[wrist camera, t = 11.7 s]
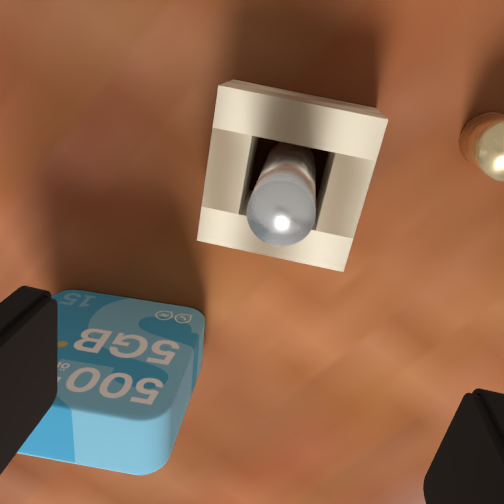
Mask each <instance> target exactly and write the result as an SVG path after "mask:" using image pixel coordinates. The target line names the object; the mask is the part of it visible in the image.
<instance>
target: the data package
mask: <svg viewBox="0 0 504 504" xmlns="http://www.w3.org/2000/svg"><path fill="white" fill-rule="evenodd" d="M52 299H55V300H56V301H57V305H58V358H57V395H56V398H55V400H54V403H53V404H52V406H51V407H50V409H49V410H48V411H47V413H46V414H45V415H44V417H43V418H42V419H41V421H40V422H39V424H38V425H37V426H36V428H35V429H34V430H33V432H32V433H31V434H30V436H29V437H28V438H27V440H26V441H25V442H24V444H23V445H22V446H21V448H20V449H19V450H18V452H17V453H20V454H25V455H31V456H36V457H42V458H47V459H52V460H58V461H63V462H69V463H74V464H79V465H85V466H90V467H96V468H101V469H107V470H112V471H117V472H123V473H128V474H134V475H146V474H150V473H153V472H155V471H157V470H159V469H160V468H161V467H162V466H164V465H165V463H166V462H167V461H168V459H169V457H170V454H171V452H172V449H173V446H174V443H175V440H176V437H177V435H178V432H179V429H180V426H181V423H182V420H183V418H184V415H185V412H186V409H187V406H188V403H189V400H190V398H191V395H192V392H193V389H194V386H195V383H196V381H197V378H198V375H199V372H200V369H201V366H202V356H203V343H204V330H205V318H204V316H203V314H202V313H201V312H199V311H198V310H196V309H193V308H190V307H184V306H178V305H172V304H165V303H159V302H153V301H146V300H140V299H134V298H127V297H121V296H115V295H109V294H102V293H96V292H90V291H83V290H66V291H62V292H59V293H57V294H55V295H53V296H52Z"/></svg>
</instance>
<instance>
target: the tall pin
mask: <svg viewBox="0 0 504 504" xmlns="http://www.w3.org/2000/svg"><path fill="white" fill-rule="evenodd" d="M246 214H247V221H248V224H249V226H250V229H251V230H252V232H253V233H254V234H255V235H256V236H257V237H258V238H259V239H260V240H262V241H263V242H265V243H267V244H270V245H273V246H290V245H293V244H296V243H298V242H300V241H301V240H303V239H304V238H305V237H306V236H307V235H308V234H309V233H310V231H311V230H312V228H313V226H314V222H315V217H316V195H315V158H314V155H313V153H312V151H311V150H310V149H309V148H308V147H305V146H300V145H295V144H291V143H286V142H281V143H279V144H277V145H276V146H275V147H274V148H273V149H272V150H271V151H270V153H269V155H268V157H267V160H266V162H265V164H264V167H263V169H262V171H261V174H260V176H259V178H258V181H257V183H256V186H255V188H254V190H253V193H252V195H251V197H250V200H249V202H248V205H247V211H246Z"/></svg>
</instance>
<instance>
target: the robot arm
mask: <svg viewBox="0 0 504 504" xmlns="http://www.w3.org/2000/svg"><path fill="white" fill-rule="evenodd" d="M57 358H58V305H57V301H56V300H55V299H52V297H51V294H50V292H49V291H46V290H41V289H37V288H33V287H28V286H22V287H20V288H18V289H17V290H16V291H15V292H13V293H12V294H11V295H10V296H8V297H7V298H6V299H5V300H3V301H2V302H1V303H0V474H1V473H2V472H3V470H4V469H5V468H6V466H7V465H8V464H9V462H10V461H11V460H12V458H13V457H14V456H15V454H16V453H17V452H18V450H19V449H20V448H21V446H22V445H23V444H24V442H25V441H26V440H27V438H28V437H29V436H30V434H31V433H32V432H33V430H34V429H35V428H36V426H37V425H38V424H39V422H40V421H41V419H42V418H43V417H44V415H45V414H46V413H47V411H48V410H49V409H50V407H51V406H52V404H53V403H54V400H55V398H56V395H57ZM423 489H424V497H425V501H426V504H504V394H502V393H497V392H493V391H488V390H484V389H476V390H474V391H473V393H472V394H471V393H466V394H465V395H464V397H463V399H462V401H461V403H460V405H459V407H458V409H457V411H456V413H455V415H454V417H453V419H452V422H451V424H450V426H449V428H448V430H447V432H446V434H445V436H444V438H443V440H442V442H441V444H440V447H439V449H438V451H437V453H436V455H435V457H434V459H433V461H432V463H431V465H430V467H429V470H428V472H427V474H426V476H425V479H424V486H423Z"/></svg>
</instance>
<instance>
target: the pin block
mask: <svg viewBox="0 0 504 504" xmlns="http://www.w3.org/2000/svg"><path fill="white" fill-rule="evenodd" d="M387 123H388V119H387V118H386V117H385V116H384V115H383V114H382V113H381V112H380V111H379V110H378V109H377V108H373V107H369V106H364V105H359V104H354V103H349V102H344V101H339V100H334V99H329V98H324V97H319V96H314V95H309V94H304V93H299V92H294V91H289V90H284V89H279V88H274V87H269V86H264V85H259V84H254V83H249V82H244V81H239V80H234V79H233V80H231V81H228V82H226V83H223V84H220V85H218V92H217V99H216V106H215V113H214V121H213V128H212V135H211V142H210V149H209V157H208V164H207V171H206V178H205V185H204V192H203V200H202V207H201V214H200V221H199V228H198V236H197V241H202V242H206V243H211V244H216V245H220V246H225V247H230V248H234V249H239V250H244V251H248V252H253V253H258V254H262V255H267V256H272V257H276V258H281V259H285V260H290V261H295V262H299V263H304V264H309V265H313V266H318V267H323V268H327V269H332V270H337V271H341V272H343V271H344V268H345V265H346V261H347V258H348V255H349V251H350V248H351V244H352V241H353V238H354V234H355V231H356V227H357V224H358V221H359V217H360V214H361V211H362V207H363V204H364V200H365V197H366V194H367V190H368V187H369V183H370V180H371V177H372V173H373V170H374V167H375V163H376V160H377V156H378V153H379V150H380V146H381V143H382V140H383V136H384V133H385V129H386V126H387ZM259 137H261V138H266V139H271V140H276V141H281V142H286V143H291V144H295V145H300V146H305V147H310V148H315V149H320V150H325V151H329V152H328V156H327V160H326V164H325V168H324V172H323V176H322V180H321V184H320V188H319V192H318V196H317V200H316V217H315V222H314V226H313V228H312V230H311V231H310V233H309V234H308V235H307V236H306V237H305V238H304V239H303V240H301V241H300V242H298V243H296V244H293V245H290V246H273V245H270V244H267V243H265V242H263V241H262V240H260V239H259V238H258V237H257V236H256V235H255V234H254V233H253V232H252V230H251V229H250V226H249V224H248V221H247V214H246V211H247V205H248V202H249V200H250V197H251V195H252V193H253V191H250V190H249V188H250V183H251V177H252V172H253V166H254V161H255V156H256V150H257V145H258V139H259Z"/></svg>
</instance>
